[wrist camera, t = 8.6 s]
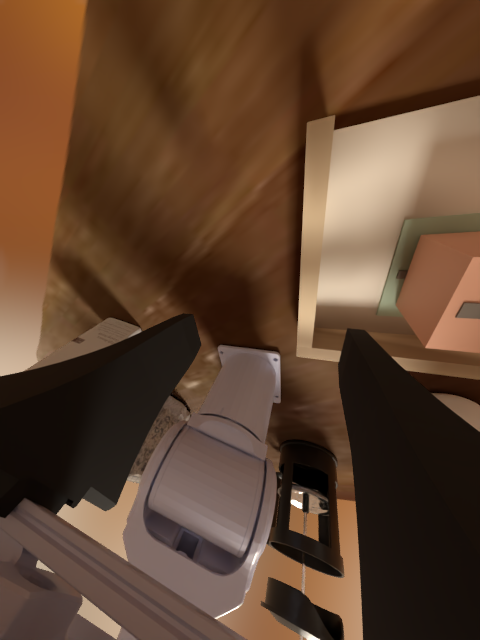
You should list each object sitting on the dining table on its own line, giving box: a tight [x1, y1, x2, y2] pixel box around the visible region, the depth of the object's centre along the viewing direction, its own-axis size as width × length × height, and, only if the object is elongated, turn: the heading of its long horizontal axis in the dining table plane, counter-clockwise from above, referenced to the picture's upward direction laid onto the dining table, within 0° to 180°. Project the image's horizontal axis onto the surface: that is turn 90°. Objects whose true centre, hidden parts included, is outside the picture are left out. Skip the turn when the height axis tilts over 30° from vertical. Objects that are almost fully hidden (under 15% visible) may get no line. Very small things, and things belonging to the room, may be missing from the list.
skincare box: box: [23, 318, 142, 372], centre depth 25 cm, size 6×4×12 cm
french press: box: [261, 440, 344, 640], centre depth 24 cm, size 12×9×23 cm
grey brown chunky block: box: [127, 396, 190, 483], centre depth 36 cm, size 19×17×15 cm
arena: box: [296, 96, 480, 380], centre depth 12 cm, size 15×16×4 cm
